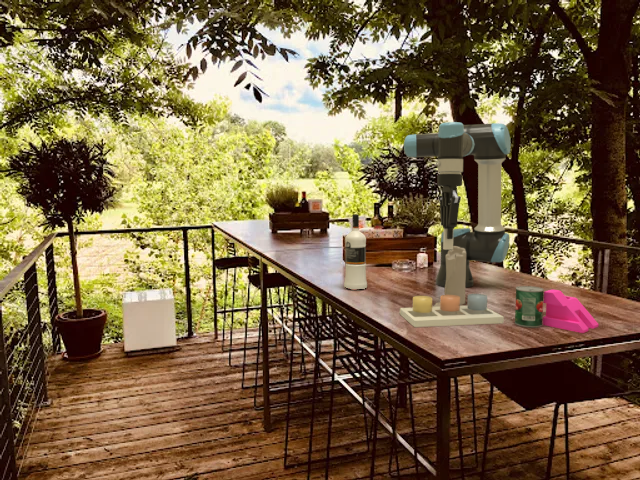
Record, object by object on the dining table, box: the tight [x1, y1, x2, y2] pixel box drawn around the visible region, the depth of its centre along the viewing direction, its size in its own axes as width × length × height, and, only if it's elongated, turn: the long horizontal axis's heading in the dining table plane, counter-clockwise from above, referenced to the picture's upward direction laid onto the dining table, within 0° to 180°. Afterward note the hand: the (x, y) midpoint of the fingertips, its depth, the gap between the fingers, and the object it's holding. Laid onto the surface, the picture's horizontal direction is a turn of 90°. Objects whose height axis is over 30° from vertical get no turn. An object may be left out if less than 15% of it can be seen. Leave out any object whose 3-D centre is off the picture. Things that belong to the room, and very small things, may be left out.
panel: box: [399, 304, 505, 328], centre depth 172 cm, size 16×28×2 cm, turn 98°
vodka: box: [343, 213, 368, 290], centre depth 218 cm, size 9×9×30 cm
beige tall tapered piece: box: [432, 246, 466, 307], centre depth 191 cm, size 7×14×20 cm, turn 130°
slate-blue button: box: [466, 293, 488, 310], centre depth 173 cm, size 6×6×4 cm
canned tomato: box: [514, 285, 545, 328], centre depth 164 cm, size 8×8×11 cm
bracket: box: [542, 288, 600, 334], centre depth 162 cm, size 12×10×10 cm
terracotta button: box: [439, 294, 461, 312], centre depth 171 cm, size 6×6×4 cm
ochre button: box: [412, 295, 433, 313], centre depth 170 cm, size 6×6×4 cm
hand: (448, 249), depth 171 cm, fingers closed
